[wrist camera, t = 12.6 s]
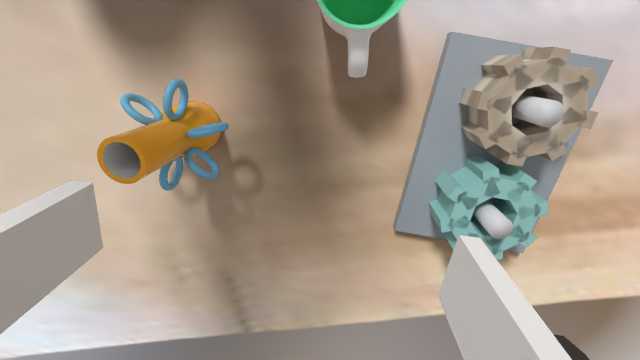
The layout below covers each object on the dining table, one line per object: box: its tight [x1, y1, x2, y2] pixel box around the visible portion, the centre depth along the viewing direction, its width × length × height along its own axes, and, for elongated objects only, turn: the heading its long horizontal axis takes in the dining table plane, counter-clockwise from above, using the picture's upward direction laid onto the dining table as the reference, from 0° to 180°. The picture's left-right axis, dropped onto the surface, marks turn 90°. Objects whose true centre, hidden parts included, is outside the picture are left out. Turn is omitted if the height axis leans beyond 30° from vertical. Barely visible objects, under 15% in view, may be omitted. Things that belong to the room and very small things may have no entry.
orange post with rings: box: [97, 79, 228, 191], centre depth 33 cm, size 12×10×15 cm
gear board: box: [394, 32, 613, 253], centre depth 35 cm, size 24×17×8 cm
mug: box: [317, 0, 407, 78], centre depth 30 cm, size 12×8×10 cm, turn 4°
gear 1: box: [459, 47, 600, 166], centre depth 33 cm, size 11×11×5 cm
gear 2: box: [429, 155, 548, 260], centre depth 37 cm, size 11×11×5 cm
